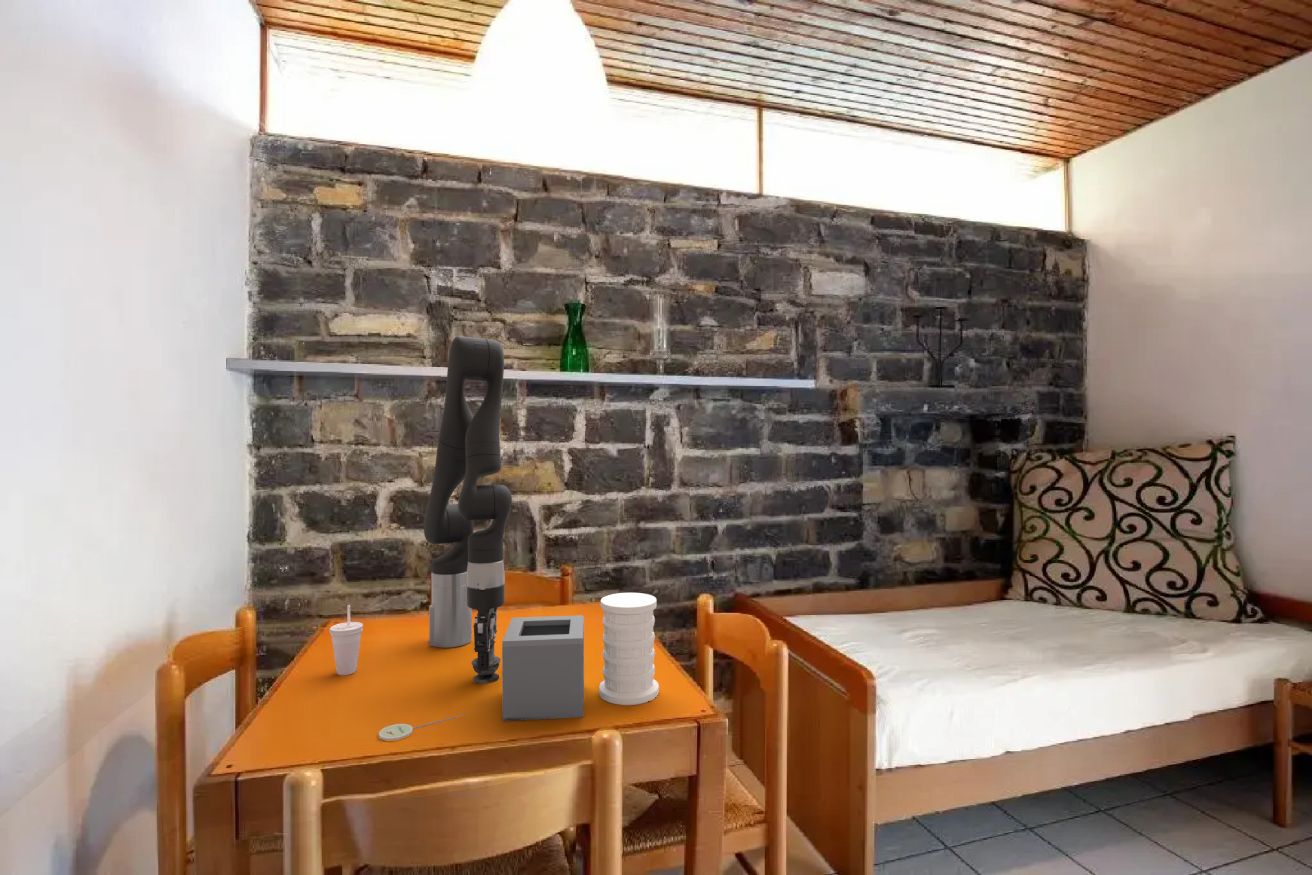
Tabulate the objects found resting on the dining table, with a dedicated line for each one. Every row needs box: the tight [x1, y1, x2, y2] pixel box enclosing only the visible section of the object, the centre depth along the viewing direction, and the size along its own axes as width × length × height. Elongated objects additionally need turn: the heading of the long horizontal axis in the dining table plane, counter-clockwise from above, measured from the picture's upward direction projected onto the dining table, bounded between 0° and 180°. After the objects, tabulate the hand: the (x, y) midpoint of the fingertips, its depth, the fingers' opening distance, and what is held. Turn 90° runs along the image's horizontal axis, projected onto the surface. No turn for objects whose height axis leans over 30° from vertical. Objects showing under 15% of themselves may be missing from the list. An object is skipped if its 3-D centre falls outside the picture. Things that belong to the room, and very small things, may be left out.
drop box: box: [501, 614, 585, 722], centre depth 116 cm, size 14×14×14 cm
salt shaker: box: [470, 634, 502, 684], centre depth 128 cm, size 6×6×12 cm
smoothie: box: [329, 604, 364, 676], centre depth 131 cm, size 6×6×14 cm
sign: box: [378, 713, 470, 741], centre depth 107 cm, size 5×1×15 cm
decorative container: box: [598, 592, 660, 706], centre depth 121 cm, size 12×12×18 cm
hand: (486, 663), depth 128 cm, fingers closed on salt shaker, 6 cm apart
